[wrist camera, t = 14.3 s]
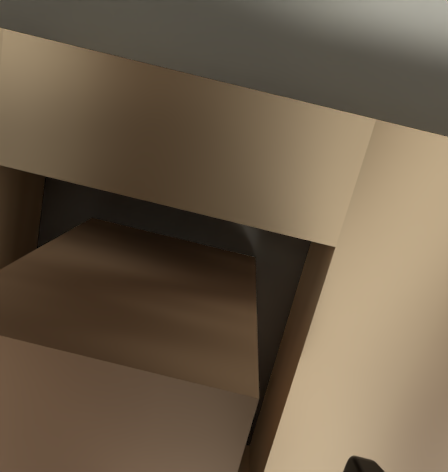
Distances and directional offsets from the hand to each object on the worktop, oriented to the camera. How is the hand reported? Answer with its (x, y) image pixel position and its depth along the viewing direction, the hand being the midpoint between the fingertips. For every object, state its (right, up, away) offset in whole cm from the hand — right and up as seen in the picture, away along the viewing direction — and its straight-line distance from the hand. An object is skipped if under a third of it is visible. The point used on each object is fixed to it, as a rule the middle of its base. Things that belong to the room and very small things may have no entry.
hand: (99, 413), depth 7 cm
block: (0, +1, +4) cm, 4 cm away
